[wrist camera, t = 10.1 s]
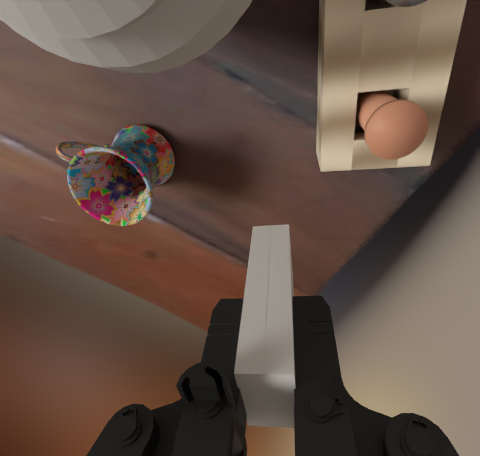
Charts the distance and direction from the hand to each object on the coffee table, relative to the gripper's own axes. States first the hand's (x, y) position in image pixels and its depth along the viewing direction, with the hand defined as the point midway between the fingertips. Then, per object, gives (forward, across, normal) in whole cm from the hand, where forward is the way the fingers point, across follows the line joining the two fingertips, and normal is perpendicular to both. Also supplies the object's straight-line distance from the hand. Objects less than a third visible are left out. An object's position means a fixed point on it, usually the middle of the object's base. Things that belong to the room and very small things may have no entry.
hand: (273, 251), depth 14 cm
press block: (+28, +10, +4) cm, 30 cm away
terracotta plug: (+25, +10, -1) cm, 27 cm away
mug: (+28, -19, -4) cm, 34 cm away
